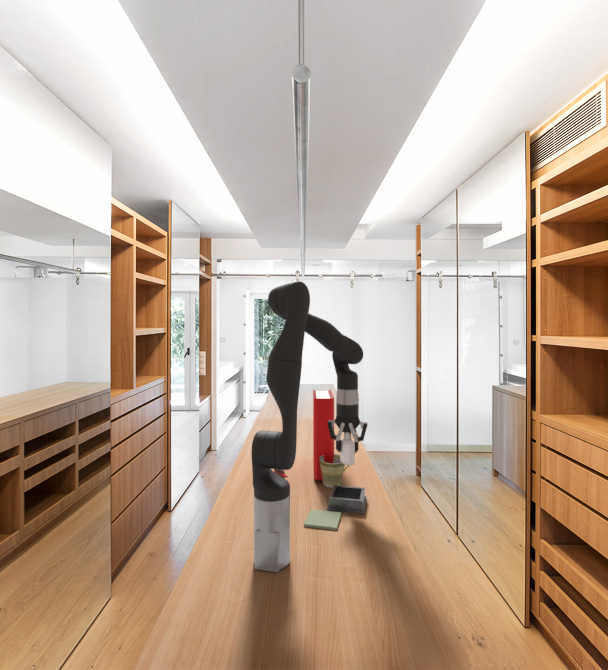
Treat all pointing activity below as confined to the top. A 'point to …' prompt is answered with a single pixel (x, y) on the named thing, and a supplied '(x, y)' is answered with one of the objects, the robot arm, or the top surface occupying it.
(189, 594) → the top surface
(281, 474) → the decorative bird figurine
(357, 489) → the socket block
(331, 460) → the book
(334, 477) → the ceramic cup
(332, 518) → the rubber mat
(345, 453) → the eye dropper bottle
